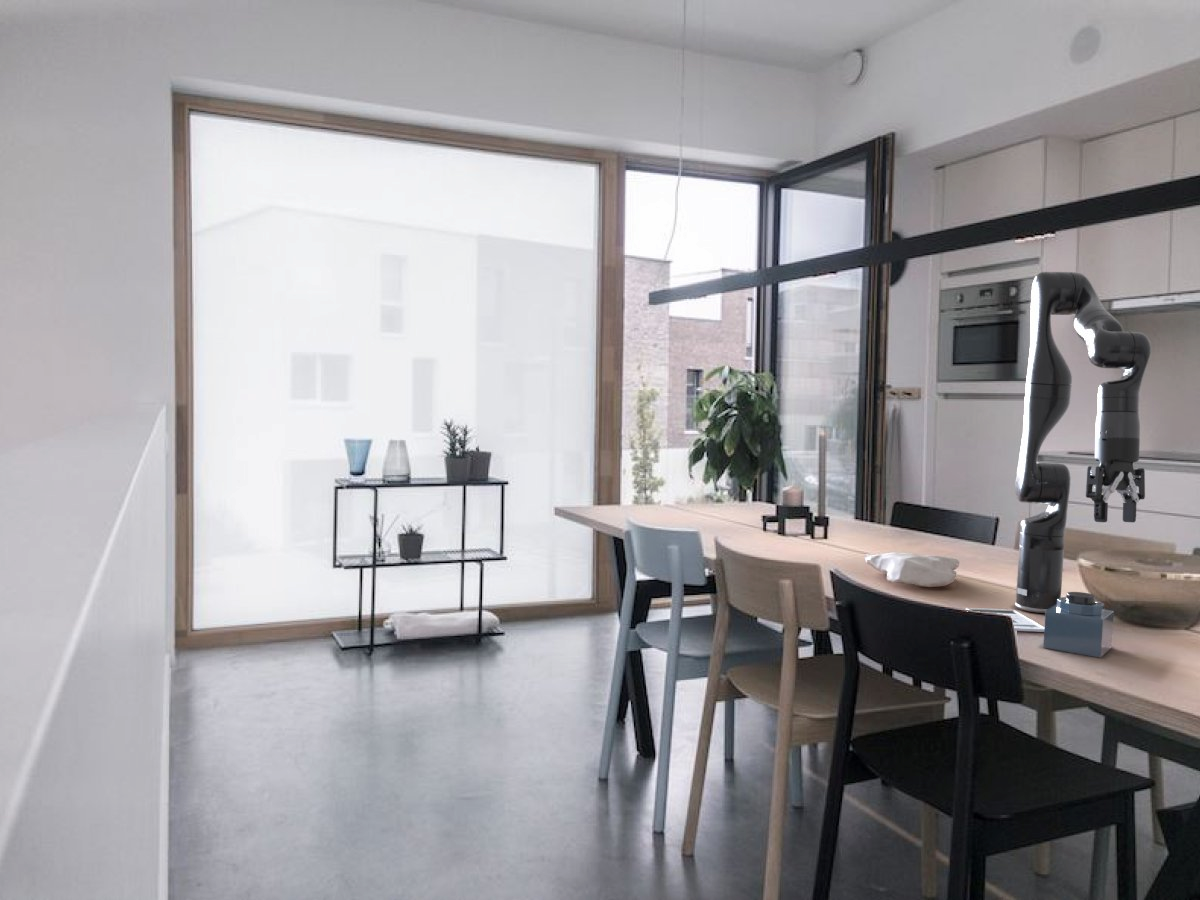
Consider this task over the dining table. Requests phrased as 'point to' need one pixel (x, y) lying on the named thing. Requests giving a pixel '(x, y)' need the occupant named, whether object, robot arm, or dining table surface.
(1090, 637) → the blue-grey box with cap
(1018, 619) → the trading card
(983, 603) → the dining table surface
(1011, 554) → the dining table surface
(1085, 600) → the button
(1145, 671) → the dining table surface
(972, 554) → the dining table surface
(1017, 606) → the robot arm
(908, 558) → the rock
